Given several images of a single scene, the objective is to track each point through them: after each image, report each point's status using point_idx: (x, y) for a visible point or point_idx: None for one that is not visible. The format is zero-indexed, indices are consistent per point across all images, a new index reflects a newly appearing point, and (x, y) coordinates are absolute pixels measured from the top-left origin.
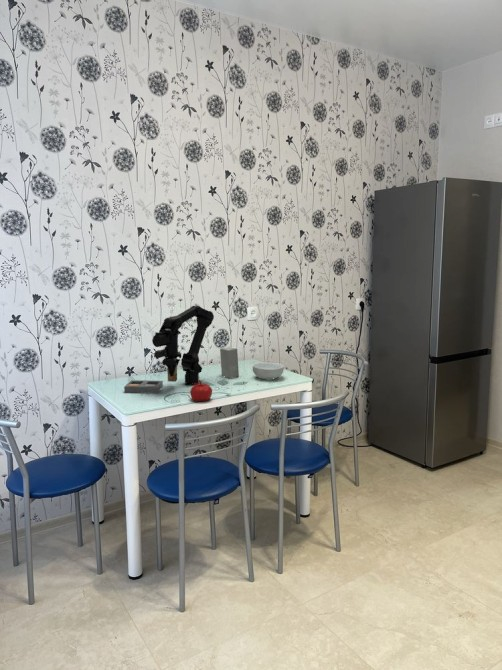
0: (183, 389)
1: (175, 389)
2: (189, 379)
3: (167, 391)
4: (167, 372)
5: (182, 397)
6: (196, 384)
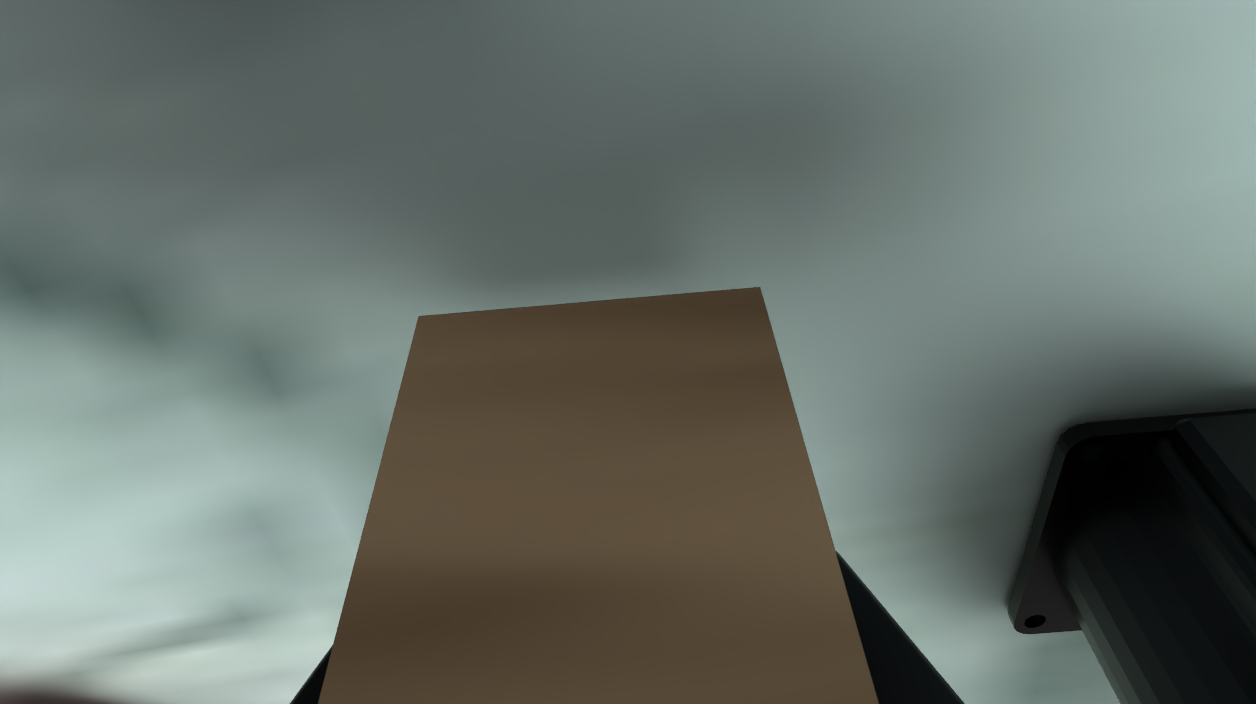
0: None
1: None
2: (1128, 588)
3: (374, 163)
4: (335, 647)
5: (49, 566)
6: (1009, 606)
